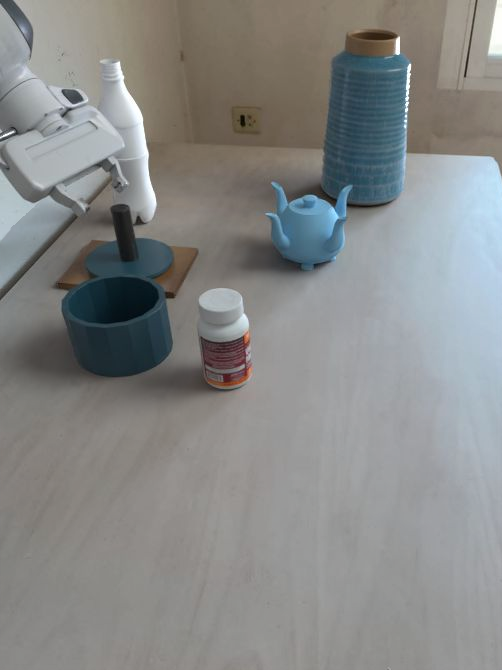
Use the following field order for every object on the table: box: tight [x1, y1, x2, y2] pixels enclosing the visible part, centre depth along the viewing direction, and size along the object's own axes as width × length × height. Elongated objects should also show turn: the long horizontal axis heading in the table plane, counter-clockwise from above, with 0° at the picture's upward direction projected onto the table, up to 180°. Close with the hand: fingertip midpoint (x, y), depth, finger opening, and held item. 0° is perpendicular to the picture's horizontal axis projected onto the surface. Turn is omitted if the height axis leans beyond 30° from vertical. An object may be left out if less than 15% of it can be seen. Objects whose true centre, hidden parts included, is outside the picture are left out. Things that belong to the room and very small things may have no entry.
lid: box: [85, 204, 174, 279], centre depth 95 cm, size 13×13×9 cm
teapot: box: [264, 181, 353, 271], centre depth 100 cm, size 13×13×10 cm
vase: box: [320, 28, 412, 207], centre depth 115 cm, size 16×16×27 cm
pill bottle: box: [196, 287, 253, 390], centre depth 76 cm, size 6×6×11 cm
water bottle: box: [97, 58, 157, 225], centre depth 104 cm, size 7×7×25 cm
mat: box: [56, 239, 200, 299], centre depth 99 cm, size 18×14×1 cm
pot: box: [60, 274, 174, 378], centre depth 82 cm, size 13×13×8 cm
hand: (105, 200), depth 92 cm, fingers open, 8 cm apart
